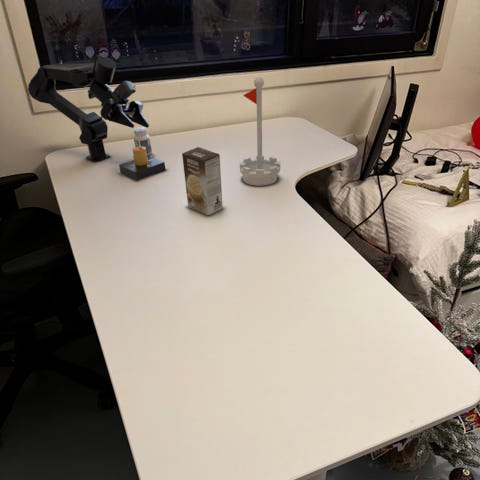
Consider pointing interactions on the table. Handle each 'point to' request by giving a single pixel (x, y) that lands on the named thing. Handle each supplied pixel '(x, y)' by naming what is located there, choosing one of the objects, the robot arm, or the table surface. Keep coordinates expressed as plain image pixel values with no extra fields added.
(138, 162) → the handle
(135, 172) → the black flat block
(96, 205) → the table surface
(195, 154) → the coffee box
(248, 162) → the flag stand
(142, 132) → the pill bottle
